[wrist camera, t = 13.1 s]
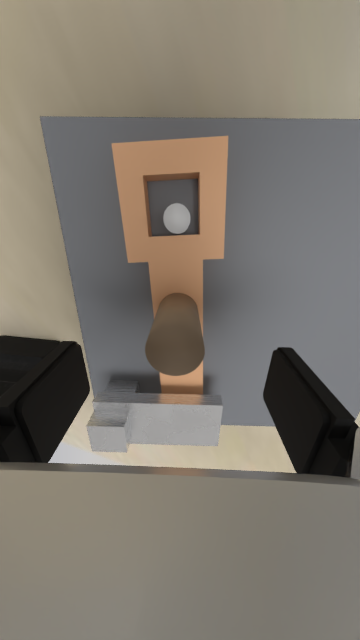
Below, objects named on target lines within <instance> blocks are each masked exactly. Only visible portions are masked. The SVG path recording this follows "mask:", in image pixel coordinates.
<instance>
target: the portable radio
mask: <svg viewBox="0 0 360 640" xmlns="http://www.w3.org/2000/svg"><path fill="white" fill-rule="evenodd" d="M58 345H59V342H57V341H51V340H41V339H31V338H21V337H11V336H0V397H1V396H3V395H4V394H5V393H6V392H7V391H8V390H9V389H10V388H11V387H12V386H14V385H15V384H16V383H17V382H18V381H19V380H20V379H21V378H22V377H23V376H25V375H26V374H27V373H28V372H29V371H30V370H31V369H32V368H33V367H34V366H36V365H37V364H38V363H39V362H40V361H41V360H42V359H43V358H44V357H45V356H47V355H48V354H49V353H50V352H51V351H52V350H53V349H54V348H55V347H56V346H58Z"/></svg>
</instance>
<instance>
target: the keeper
mask: <svg viewBox="0 0 360 640" xmlns="http://www.w3.org/2000/svg"><path fill="white" fill-rule="evenodd" d="M92 403H93V408H94V412H93V414H92V416H91V418H90V420H89V422H88V424H87V431H88V435H89V439H90V444H91V448H92V451H101V452H127V451H128V448H129V444H163V445H196V446H218V440H219V433H220V425H221V417H222V409H223V404H222V399H221V395H196V394H158V393H139V382H138V381H121V380H110V381H109V383H108V385H107V387H106V389H105V391H104V392H98V393H97V395H96V396H95V398H94V400H93V402H92Z"/></svg>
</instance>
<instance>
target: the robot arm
mask: <svg viewBox="0 0 360 640" xmlns="http://www.w3.org/2000/svg"><path fill="white" fill-rule="evenodd" d="M89 391H90V386H89V381H88V377H87V372H86V368H85V363H84V358H83V354H82V349H81V346H80V345H79V344H77V342H75V341H62V342H61V343H60V344H59V345H58V346H56V347H55V348H54V349H53V350H52V351H51V352H50V353H49V354H48V355H47V356H45V357H44V358H43V359H42V360H41V361H40V362H39V363H38V364H37V365H36V366H34V367H33V368H32V369H31V370H30V371H29V372H28V373H27V374H26V375H25V376H23V377H22V378H21V379H20V380H19V381H18V382H17V383H16V384H15V385H14V386H12V387H11V388H10V389H9V390H8V391H7V392H6V393H5V394H4V395H3V396H1V397H0V640H360V427H358V425H357V424H356V423H355V422H354V421H355V418H354V417H353V416H352V415H351V414H350V413H349V411H348V410H347V409H346V408H345V407H344V406H343V405H342V404H341V402H340V401H339V400H338V399H337V398H336V397H335V396H334V394H333V393H332V392H331V391H330V390H329V389H328V388H327V387H326V385H325V384H324V383H323V382H322V381H321V380H320V379H319V378H318V376H317V375H316V374H315V373H314V372H313V371H312V370H311V368H310V367H309V366H308V365H307V364H306V363H305V362H304V361H303V359H302V358H301V357H300V356H299V355H298V354H297V353H296V352H295V350H294V349H293V348H291V347H278V348H277V350H274V351H273V353H272V357H271V362H270V366H269V370H268V374H267V378H266V383H265V387H264V391H263V399H264V402H265V404H266V406H267V409H268V411H269V413H270V415H271V417H272V420H273V422H274V424H275V426H276V429H277V431H278V433H279V435H280V437H281V440H282V442H283V444H284V446H285V449H286V451H287V453H288V455H289V457H290V460H291V462H292V464H293V466H294V469H295V471H296V472H297V473H283V472H263V471H241V470H219V469H197V468H172V467H148V466H122V465H93V464H63V463H48V462H49V460H50V459H51V457H52V456H53V454H54V452H55V450H56V449H57V447H58V445H59V443H60V442H61V440H62V439H63V437H64V435H65V434H66V432H67V430H68V428H69V427H70V425H71V423H72V422H73V420H74V418H75V417H76V415H77V413H78V411H79V410H80V408H81V406H82V405H83V403H84V401H85V400H86V398H87V396H88V394H89Z"/></svg>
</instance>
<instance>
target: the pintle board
mask: <svg viewBox="0 0 360 640" xmlns="http://www.w3.org/2000/svg"><path fill="white" fill-rule="evenodd" d="M40 120H41V125H42V131H43V136H44V141H45V146H46V151H47V156H48V162H49V167H50V172H51V177H52V182H53V187H54V193H55V198H56V203H57V208H58V213H59V218H60V223H61V229H62V234H63V239H64V244H65V249H66V254H67V260H68V265H69V270H70V275H71V280H72V285H73V290H74V296H75V301H76V306H77V311H78V316H79V321H80V327H81V332H82V337H83V342H84V347H85V352H86V358H87V363H88V368H89V373H90V378H91V383H92V388H93V394H94V398H95V396H96V395H97V393H98V392H104V391H105V389H106V387H107V385H108V383H109V381H110V380H121V381H138V382H139V393H158V394H162V392H161V382H160V372H159V371H157V370H156V369H154V368H153V367H152V366H151V365H150V363H149V362H148V360H147V358H146V354H145V345H146V341H147V339H148V336H149V333H150V330H151V327H152V325H153V322H154V313H153V303H152V294H151V284H150V274H149V264H148V262H136V263H128V259H127V252H126V244H125V237H124V230H123V223H122V216H121V209H120V202H119V194H118V187H117V180H116V173H115V166H114V159H113V151H112V144H111V143H124V142H139V141H155V140H170V139H185V138H200V137H216V136H228V158H227V185H226V211H225V238H224V259H205V260H203V341H204V347H205V355H204V358H203V395H221V399H222V404H223V409H222V417H221V425H244V426H275V424H274V422H273V420H272V417H271V415H270V413H269V411H268V409H267V406H266V404H265V402H264V399H263V391H264V387H265V383H266V378H267V374H268V370H269V366H270V362H271V357H272V353H273V351H274V350H277V348H278V347H291V348H293V349H294V350H295V352H296V353H297V354H298V355H299V356H300V357H301V358H302V359H303V361H304V362H305V363H306V364H307V365H308V366H309V367H310V368H311V370H312V371H313V372H314V373H315V374H316V375H317V376H318V378H319V379H320V380H321V381H322V382H323V383H324V384H325V385H326V387H327V388H328V389H329V390H330V391H331V392H332V393H333V394H334V396H335V397H336V398H337V399H338V400H339V401H340V402H341V404H342V405H343V406H344V407H345V408H346V409H347V410H348V411H349V413H350V414H351V415H352V416H353V417H354V418H355V420H356V418H357V416H358V414H359V411H360V119H270V118H155V117H40ZM147 188H148V199H149V210H150V221H151V232H152V237H154V236H175V235H195V234H199V226H198V179H180V180H163V181H147ZM354 422H355V421H354Z"/></svg>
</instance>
